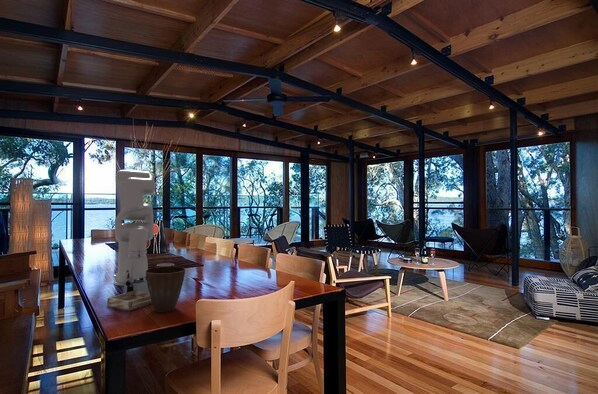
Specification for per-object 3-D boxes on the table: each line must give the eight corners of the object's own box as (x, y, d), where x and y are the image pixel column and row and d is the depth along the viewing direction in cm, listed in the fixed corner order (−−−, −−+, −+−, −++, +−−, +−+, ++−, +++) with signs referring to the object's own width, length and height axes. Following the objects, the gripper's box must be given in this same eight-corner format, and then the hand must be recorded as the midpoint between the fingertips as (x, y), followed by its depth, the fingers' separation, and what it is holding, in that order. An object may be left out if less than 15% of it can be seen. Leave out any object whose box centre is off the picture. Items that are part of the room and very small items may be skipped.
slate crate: (124, 294, 154) (124, 281, 155) (134, 291, 160) (135, 279, 160) (137, 297, 152) (137, 283, 152) (147, 293, 157) (147, 281, 157)
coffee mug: (177, 282, 180) (177, 264, 180) (165, 286, 172) (166, 266, 172) (159, 280, 184) (160, 262, 184) (147, 284, 176) (148, 264, 176)
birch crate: (107, 306, 137) (107, 298, 137) (134, 298, 149) (134, 290, 149) (129, 311, 132) (130, 302, 132) (155, 302, 145) (156, 294, 145)
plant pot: (143, 317, 125) (145, 274, 126) (144, 305, 139) (145, 267, 139) (185, 313, 131) (186, 272, 132) (182, 302, 145) (183, 265, 145)
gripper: (145, 251, 166) (144, 288, 165) (115, 256, 150) (113, 296, 149) (157, 252, 163) (156, 289, 162) (127, 257, 147) (126, 298, 146)
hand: (135, 292), depth 156 cm, fingers closed on slate crate, 6 cm apart
